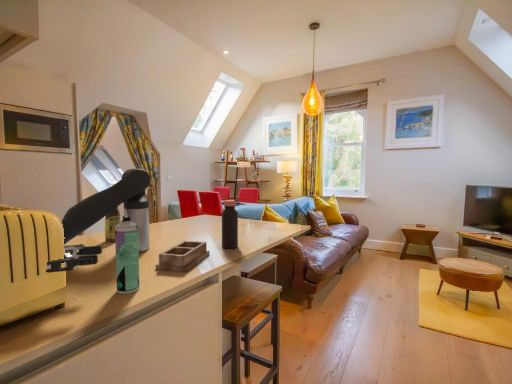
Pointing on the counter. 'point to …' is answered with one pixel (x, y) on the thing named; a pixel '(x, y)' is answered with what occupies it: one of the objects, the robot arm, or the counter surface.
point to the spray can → (127, 256)
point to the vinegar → (229, 225)
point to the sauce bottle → (111, 225)
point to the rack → (182, 256)
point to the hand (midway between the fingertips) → (99, 254)
